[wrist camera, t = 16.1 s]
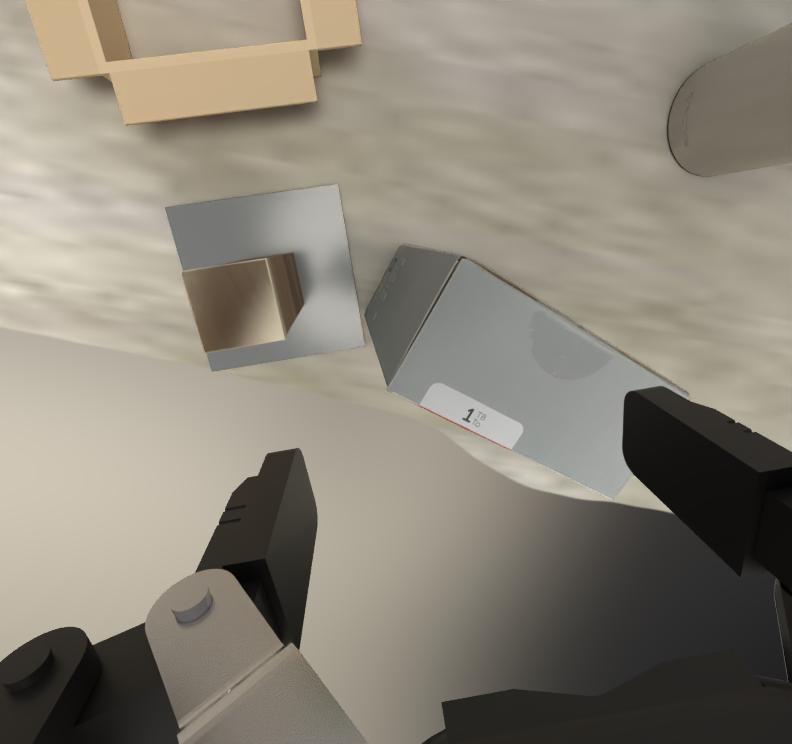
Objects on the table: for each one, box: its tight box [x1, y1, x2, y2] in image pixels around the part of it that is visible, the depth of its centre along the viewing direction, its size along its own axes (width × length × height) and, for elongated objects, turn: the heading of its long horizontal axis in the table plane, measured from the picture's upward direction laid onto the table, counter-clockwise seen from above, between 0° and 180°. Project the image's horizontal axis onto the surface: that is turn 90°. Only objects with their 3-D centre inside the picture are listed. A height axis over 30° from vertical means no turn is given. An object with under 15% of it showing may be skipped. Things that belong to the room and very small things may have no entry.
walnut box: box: [180, 252, 304, 353], centre depth 30 cm, size 5×5×14 cm
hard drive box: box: [364, 244, 691, 500], centre depth 31 cm, size 16×8×20 cm, turn 60°
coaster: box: [165, 184, 365, 371], centre depth 37 cm, size 14×14×1 cm
